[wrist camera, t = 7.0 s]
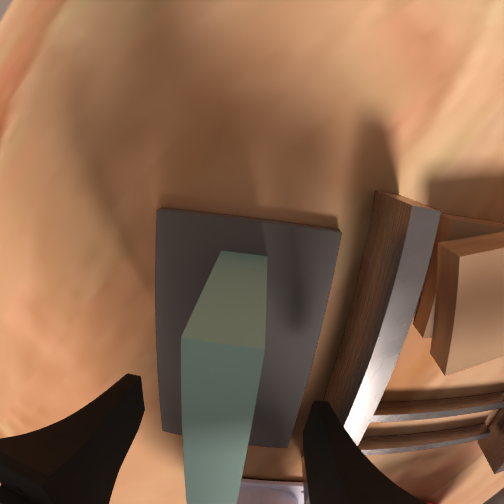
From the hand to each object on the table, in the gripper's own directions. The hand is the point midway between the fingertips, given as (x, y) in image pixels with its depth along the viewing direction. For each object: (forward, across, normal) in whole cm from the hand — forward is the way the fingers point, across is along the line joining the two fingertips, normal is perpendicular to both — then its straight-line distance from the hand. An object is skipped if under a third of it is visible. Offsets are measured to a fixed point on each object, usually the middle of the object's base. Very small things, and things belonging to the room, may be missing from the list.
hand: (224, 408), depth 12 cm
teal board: (+4, 0, 0) cm, 4 cm away
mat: (+4, 0, 0) cm, 4 cm away
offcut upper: (+3, -14, -6) cm, 15 cm away
